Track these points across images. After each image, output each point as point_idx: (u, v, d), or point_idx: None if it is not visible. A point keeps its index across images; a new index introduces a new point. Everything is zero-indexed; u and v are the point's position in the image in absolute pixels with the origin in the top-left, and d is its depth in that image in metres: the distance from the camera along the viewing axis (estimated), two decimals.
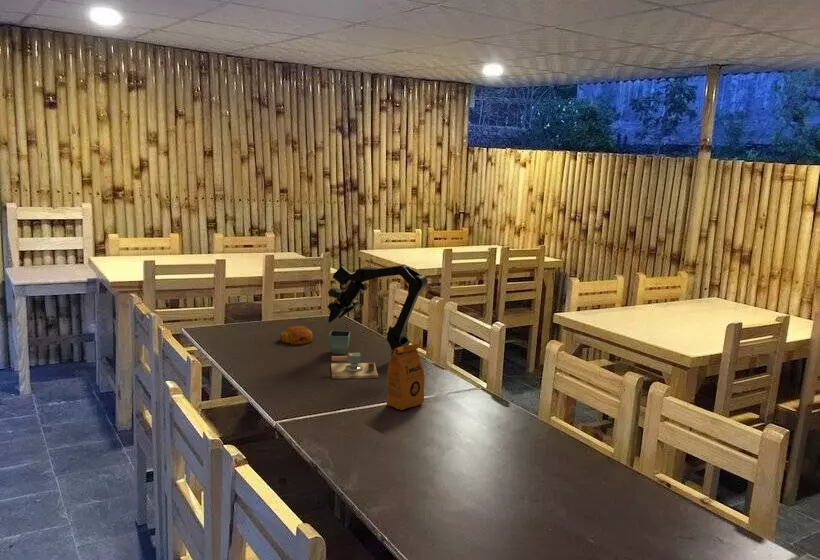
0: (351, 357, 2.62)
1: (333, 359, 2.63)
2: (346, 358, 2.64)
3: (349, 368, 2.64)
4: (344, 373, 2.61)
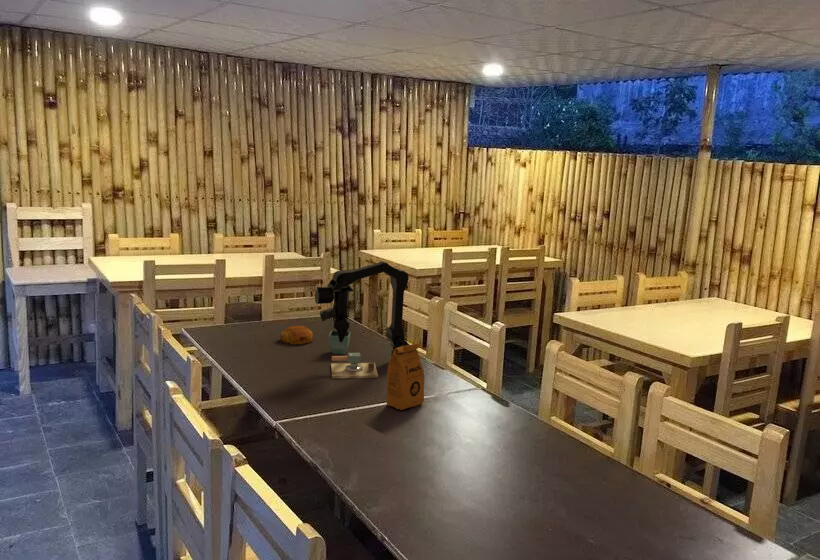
0: (351, 357, 2.62)
1: (333, 359, 2.63)
2: (346, 358, 2.64)
3: (349, 368, 2.64)
4: (344, 373, 2.61)
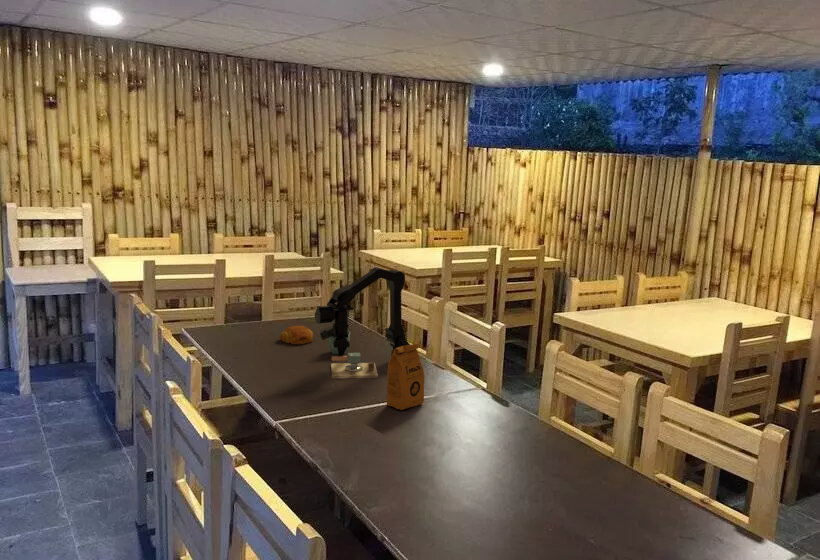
0: (351, 357, 2.62)
1: (333, 359, 2.63)
2: (346, 358, 2.64)
3: (349, 368, 2.64)
4: (344, 373, 2.61)
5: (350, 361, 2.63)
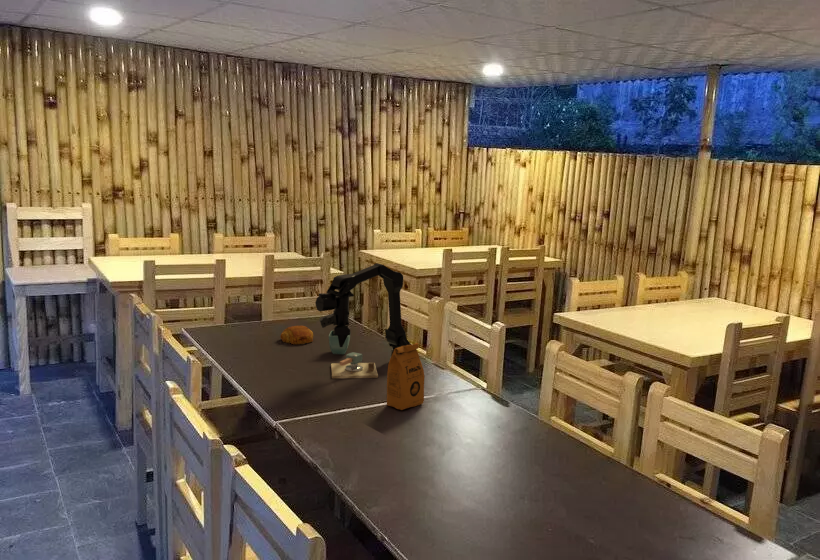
0: (357, 357, 2.63)
1: (343, 364, 2.57)
2: (351, 360, 2.62)
3: (349, 368, 2.64)
4: (344, 373, 2.61)
5: (356, 361, 2.63)
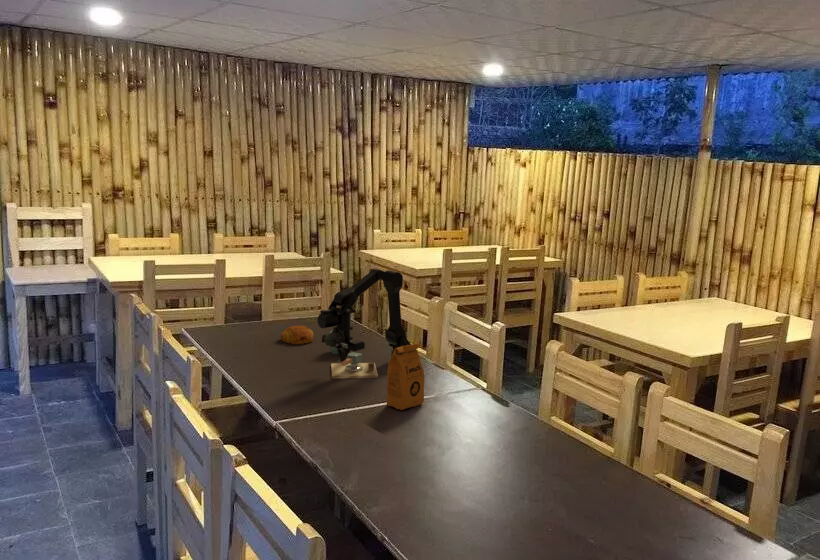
0: (357, 357, 2.63)
1: (345, 364, 2.57)
2: (351, 360, 2.62)
3: (349, 368, 2.64)
4: (344, 373, 2.61)
5: (357, 361, 2.63)
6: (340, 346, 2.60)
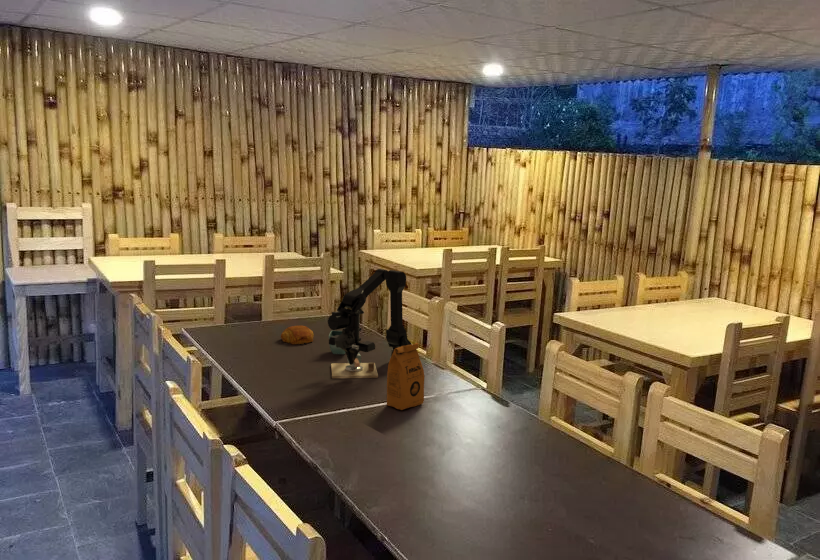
0: (360, 356, 2.64)
1: None
2: None
3: (349, 368, 2.64)
4: (344, 373, 2.61)
5: (360, 360, 2.64)
6: (349, 348, 2.57)
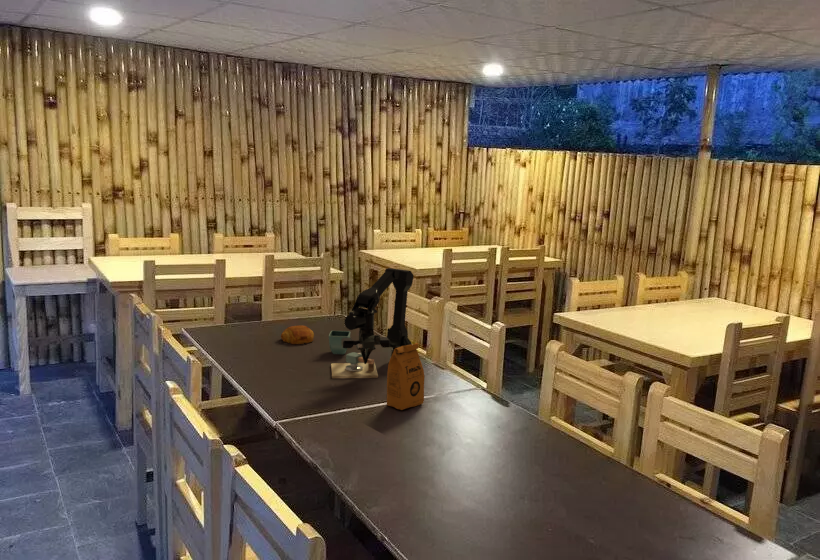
0: None
1: None
2: None
3: (349, 368, 2.64)
4: (344, 373, 2.61)
5: None
6: None
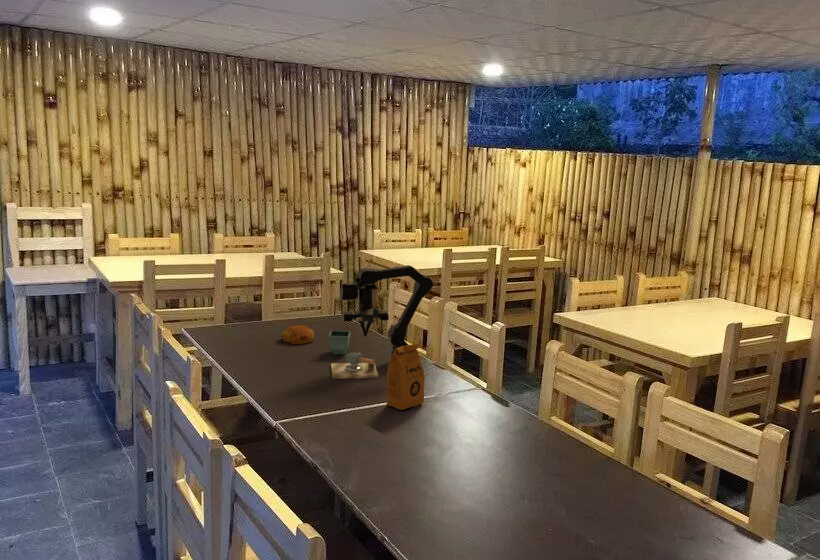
0: None
1: None
2: None
3: (349, 368, 2.64)
4: (344, 373, 2.61)
5: None
6: None
